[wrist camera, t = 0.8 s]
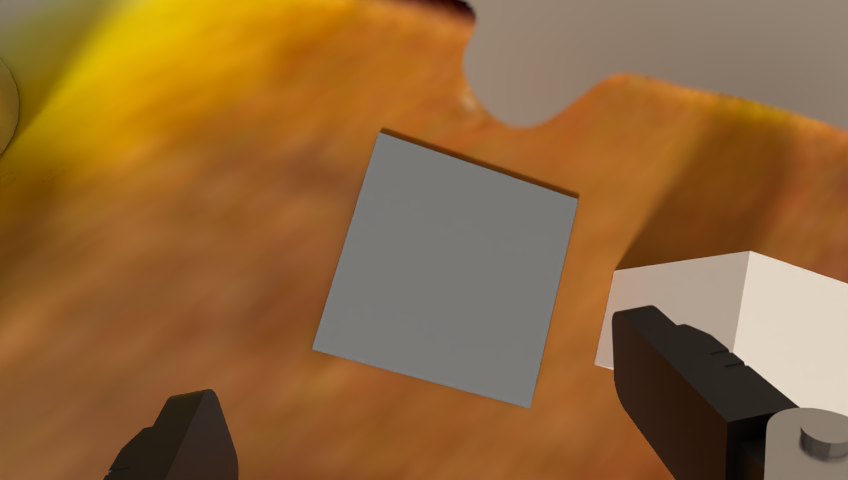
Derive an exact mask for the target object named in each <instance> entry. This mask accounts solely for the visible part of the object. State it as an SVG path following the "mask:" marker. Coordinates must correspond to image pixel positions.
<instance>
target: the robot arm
mask: <svg viewBox="0 0 848 480" xmlns="http://www.w3.org/2000/svg"><path fill="white" fill-rule="evenodd" d="M19 104H20V102H19V97H18V91H17V86H16V84H15V82H14V79H13V77H12V75H11V73H10V71H9V70H8V68H7V67H6V66H5V64H4V63H3V62H2V60H1V59H0V154H1V153H2V152H3V151H4V150H5V148H6V146H7V145H8V143H9V141H10V140H11V138H12V136H13V135H14V131H15V128H16V125H17V122H18V118H19ZM612 343H613V365H614V381H615V387H616V391H617V394H618V397H619V399H620V402H621V404H622V406H623V408H624V409H625V411H626V412H627V413H628V415H629V416H630V418H631V419H632V420H633V422H634V423H635V424H636V426H637V427H638V429H639V430H640V431H641V433H642V434H643V435H644V437H645V438H646V440H647V441H648V442H649V444H650V445H651V446H652V448H653V449H654V451H655V452H656V453H657V455H658V456H659V457H660V459H661V460H662V462H663V463H664V464H665V466H666V467H667V468H668V470H669V471H670V472H671V474H672V475H673V477H674V478H675V479H676V480H848V417H847V416H845V415H842V414H839V413H835V412H832V411H828V410H823V409H816V408H800V407H799V406H797V405H796V404H795V403H794V402H793V401H791V400H790V399H789V398H788V397H786V396H785V395H784V394H783V393H782V392H780V391H779V390H778V389H777V388H775V387H774V386H773V385H772V384H771V383H769V382H768V381H767V380H766V379H764V378H763V377H762V376H761V375H760V374H758V373H757V372H756V371H755V370H753V369H752V368H751V367H750V366H749V365H746V366H745V364H744V361H742V360H741V359H740V358H739V357H738V356H736V355H735V354H734V353H733V352H732V353H730V352H729V349H728V348H727V347H725V346H724V345H723V344H722V343H720V342H719V341H718V340H717V339H716V338H714V337H713V336H712V335H711V334H708V333H706V332H704V331H701V330H699V329H696V328H694V327H692V326H689V325H687V324H681V325H676V324H675V323H674V322H673V321H671V320H670V319H669V318H668V317H667V316H666V315H665V314H664V313H662V312H661V311H660V310H659V309H658V308H657V307H655V306H653V305H647V306H642V307H637V308H632V309H627V310H622V311H616V312H614V314H613V316H612ZM103 480H238V460H237V455H236V451H235V448H234V445H233V442H232V439H231V436H230V433H229V430H228V427H227V424H226V421H225V418H224V415H223V412H222V409H221V406H220V403H219V400H218V398H217V396H216V394H215V392H214V391H213V390H211V389H207V390H202V391H196V392H191V393H186V394H181V395H176V396H171V397H170V398H169V399H168V400H167V401H166V403H165V405H164V407H163V409H162V410H161V412H160V414H159V416H158V418H157V419H156V421H155V423H154V425H153V426H152V427H147V428H144V429H142V430H141V431H140V432H139V433H138V434H137V435H136V436H135V437H134V438H133V439H132V440H131V441H130V442H129V443H128V444H126V445H125V446H124V447H123V448H122V449H121V451H120V453H119V454H118V456H117V458H116V459H115V461H114V463H113V464H112V466H111V468H110V469H109V475H106V476H105V478H104V479H103Z"/></svg>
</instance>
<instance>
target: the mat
mask: <svg viewBox="0 0 848 480" xmlns="http://www.w3.org/2000/svg"><path fill="white" fill-rule="evenodd" d="M577 204H578V199H576V198H573V197H570V196H567V195H564V194H561V193H558V192H555V191H552V190H549V189H546V188H543V187H540V186H537V185H534V184H531V183H528V182H525V181H522V180H519V179H516V178H513V177H510V176H507V175H505V174H502V173H499V172H496V171H493V170H490V169H487V168H484V167H481V166H478V165H475V164H472V163H469V162H466V161H463V160H460V159H457V158H454V157H451V156H448V155H445V154H442V153H439V152H436V151H433V150H430V149H427V148H424V147H422V146H419V145H416V144H413V143H410V142H407V141H404V140H401V139H398V138H395V137H392V136H389V135H386V134H383V133H380V132H379V133H378V136H377V139H376V142H375V146H374V149H373V152H372V155H371V159H370V162H369V165H368V168H367V171H366V175H365V178H364V181H363V184H362V188H361V191H360V194H359V197H358V201H357V204H356V207H355V210H354V214H353V217H352V220H351V223H350V227H349V230H348V233H347V236H346V240H345V243H344V246H343V249H342V253H341V256H340V259H339V262H338V266H337V269H336V272H335V275H334V279H333V282H332V285H331V288H330V291H329V295H328V298H327V301H326V304H325V308H324V311H323V314H322V317H321V321H320V324H319V327H318V330H317V334H316V337H315V340H314V343H313V347H312V350H316V351H320V352H324V353H327V354H331V355H335V356H338V357H342V358H346V359H349V360H353V361H357V362H360V363H364V364H368V365H371V366H375V367H379V368H382V369H386V370H390V371H393V372H397V373H401V374H404V375H408V376H412V377H415V378H419V379H423V380H427V381H430V382H434V383H438V384H441V385H445V386H449V387H452V388H456V389H460V390H463V391H467V392H471V393H474V394H478V395H482V396H485V397H489V398H493V399H496V400H500V401H504V402H507V403H511V404H515V405H519V406H522V407H526V408H530V407H531V402H532V398H533V394H534V390H535V385H536V381H537V377H538V372H539V368H540V364H541V359H542V355H543V351H544V346H545V342H546V338H547V333H548V329H549V325H550V320H551V316H552V312H553V307H554V303H555V299H556V294H557V290H558V286H559V281H560V277H561V273H562V268H563V264H564V260H565V255H566V251H567V247H568V243H569V238H570V234H571V230H572V225H573V221H574V217H575V212H576V208H577Z"/></svg>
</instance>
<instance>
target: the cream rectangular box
mask: <svg viewBox="0 0 848 480" xmlns="http://www.w3.org/2000/svg"><path fill="white" fill-rule="evenodd" d="M647 305H653V306H655V307H657V308H658V309H659V310H660V311H661V312H662V313H664V314H665V315H666V316H667V317H668V318H669V319H670V320H671V321H673V322H674V323H675V324H676V325H681V324H687V325H689V326H692V327H694V328H696V329H699V330H701V331H704V332H706V333H708V334H711V335H712V336H713V337H714V338H716V339H717V340H718V341H719V342H720V343H722V344H723V345H724V346H725V347H727V348H728V349H729V352H730V353H732V352H733V353H734V354H735V355H736V356H738V357H739V358H740V359H741V360H742V361H744V364H745V366H746V365H749V366H750V367H751V368H752V369H753V370H755V371H756V372H757V373H758V374H760V375H761V376H762V377H763V378H764V379H766V380H767V381H768V382H769V383H771V384H772V385H773V386H774V387H775V388H777V389H778V390H779V391H780V392H782V393H783V394H784V395H785V396H786V397H788V398H789V399H790V400H791V401H793V402H794V403H795V404H796V405H797V406H799V407H800V408H816V409H823V410H828V411H832V412H835V413H839V414H842V415H845V416H847V417H848V284H847V283H844V282H841V281H838V280H835V279H832V278H829V277H826V276H823V275H820V274H817V273H814V272H811V271H808V270H805V269H802V268H799V267H796V266H794V265H791V264H788V263H785V262H782V261H779V260H776V259H773V258H770V257H767V256H764V255H761V254H758V253H755V252H752V251H745V252H738V253H732V254H725V255H718V256H711V257H705V258H698V259H691V260H684V261H677V262H671V263H664V264H657V265H650V266H643V267H637V268H630V269H623V270H616V271H614V274H613V279H612V284H611V288H610V293H609V298H608V302H607V307H606V312H605V316H604V321H603V326H602V330H601V335H600V340H599V345H598V349H597V354H596V359H595V363H594V364H595V365H598V366H602V367H605V368H608V369H612V370H614V365H613V343H612V316H613V314H614V312H616V311H622V310H627V309H632V308H637V307H642V306H647Z"/></svg>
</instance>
